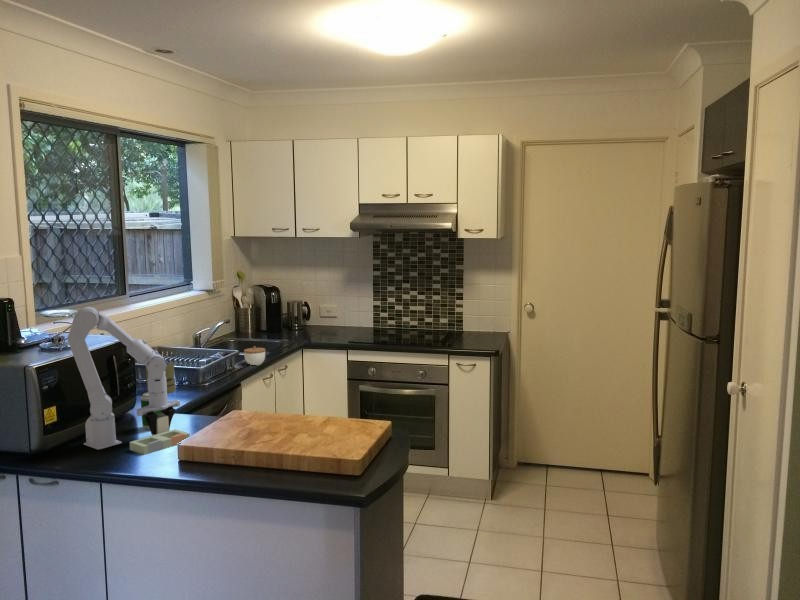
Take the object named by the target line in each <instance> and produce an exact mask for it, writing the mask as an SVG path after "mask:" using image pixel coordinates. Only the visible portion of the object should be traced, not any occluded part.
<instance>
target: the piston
mask: <svg viewBox="0 0 800 600" xmlns="http://www.w3.org/2000/svg"><path fill="white" fill-rule="evenodd" d="M165 372H166V375H165V376H166V383H167V395H168V394H173V393H174V392H176V378H174V377H175V376H176V375H175V363H174V362H173V361H172V362H171V363H169V364H166V369H165ZM145 376H146V377H145V378H146V393H147V392H148V370H147V367H146V366H145Z"/></svg>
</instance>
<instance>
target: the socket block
mask: <svg viewBox="0 0 800 600" xmlns="http://www.w3.org/2000/svg"><path fill="white" fill-rule="evenodd" d="M190 435H191V434H190V433H189V432H186V431H183V430H179V429H171V430H169V431H168V432H164V433H160V434H157V435H153V436H152V435H150V436H147V437H142V438H139V439H134V440H132V441H129V451H132V452H135V453H138V454H141V455H149V454H150V453H155V452H158V451H161V449H162V450H164V448H165V449H168V448H171V447H170V446H172V447H174V446H173V445H175V446H177V445H176V444H177V443H179V442H181V441H182V440H184V439H186V438H188V437H190V438H191V436H190ZM167 447H168V448H167Z"/></svg>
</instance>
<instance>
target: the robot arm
mask: <svg viewBox="0 0 800 600" xmlns="http://www.w3.org/2000/svg"><path fill="white" fill-rule="evenodd" d="M95 327H96V330H98V331H103V332H104V331H105V332H107V333H109V334H110V335H111V336H112V337H114V338H115V339H116V340H117V341H119V342H120V343H122V344H123V345H124V346H126V353H127V354H129V355H130V356H131V357H132V358H134V359H135V360H136V361H137V362H138V363H140V364H141V365H144V366H145V368H146V367H147V370H148V379H147V381H148V394H149V405H148V406H145V407H142V408H141V407H140V408H137V409H136V416H140V417H142V415H143V417H144V418H145V420H146V421H147V423H148V425H149V428H150V430H149V431H150V434H151V435H152V434H153V435H156V434H157V427H156V422H157V416H158V415H156V414H155V413H154V412H156V411H160V410H161V413H164V414H165V415H167V416H168V420H169V430H170V428H171V423H172V420H173V418H174V416H175V413H176V407H181V401H180V400H178V399H174V400H168V394H167V383H166V376H165V375H166V372H165V369H166V365H167V364H166V360H165V358H164V357H163V356H162V354H160V353H159V351H158V350H156V349H155V350H154V349H153V348H152V347H150V346H149V345H148V344H147V341H146V340H145V339H141V338H133V337H132V336H131V335H130V334H129V333H128V332H126V331H125V330H124V329H123V328H122V327H120V325H118V324H117V323H116V321H114V320H113V319H112V318H110V317H109V316H107V315H106V314H105V313H103V312H101V311H98V309H97V308H96V307H94V306H91V305H88V306H83V307H82V308H81V309H80V310H78V312H77V313H76V315H75V316H74V317H73V319H72V323H71V326H70V329H69V331H68V335H67V342H68V345H69V347H70V349H71V352H72V356H73V359H74V361H75V363H76V366H77V368H78V371H79V373H80V376H81V379H82V381H83V384H84V387H85V390H86V392H87V397H88V400H89V404H90V407H89V412H90V416H89V417H88V418H87V419H86V421H85V425H84V428H85V439H86V442H84V443H83V445H84V446H86V447H90V448H92V449H95V450H103V449H106V448H109V447H112V446H116V445H120V444H122V443H123V442H122V441H121V440H118V439H117V436H116V435H117V434H116V433H117V432H116V422H115V421H116V419H115V413H113V406H112V405H113V399H112V398H111V397H110V395H108V394H107V392H106V389H105V388H104V386H103V383H102V381H101V379H100V376H99V373H98V370H97V368H96V365H95V362H94V360H93V358H92V354H91V352H90V349H89V347H88V344H87V342H86V339H87V337H88V335H89V334H90V332H91V331H92V330H93V329H94V328H95Z"/></svg>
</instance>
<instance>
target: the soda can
mask: <svg viewBox="0 0 800 600" xmlns="http://www.w3.org/2000/svg"><path fill="white" fill-rule="evenodd" d="M148 405H149V394H148V392H147V391H146V392H144V393H142V395H141V397H140V408H142V407H145V406H148ZM154 413H155V414H157V413H161V410H160V411H156V412H154ZM141 421H142V422H141V425H142V427H143V428H144V429H145V430H146V429H147V431H150V428H149V425H148V423H147V421H146V420H145V418H144V417H143V415H142V416H141Z"/></svg>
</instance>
